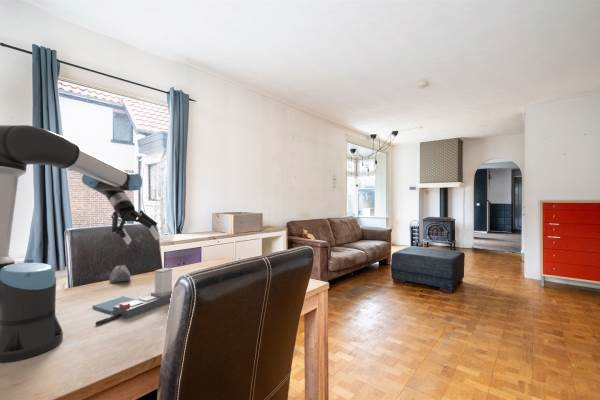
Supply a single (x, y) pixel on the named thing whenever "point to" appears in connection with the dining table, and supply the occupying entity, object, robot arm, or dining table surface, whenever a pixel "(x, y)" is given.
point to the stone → (119, 274)
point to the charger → (163, 280)
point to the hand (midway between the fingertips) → (144, 240)
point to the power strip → (138, 306)
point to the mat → (111, 304)
